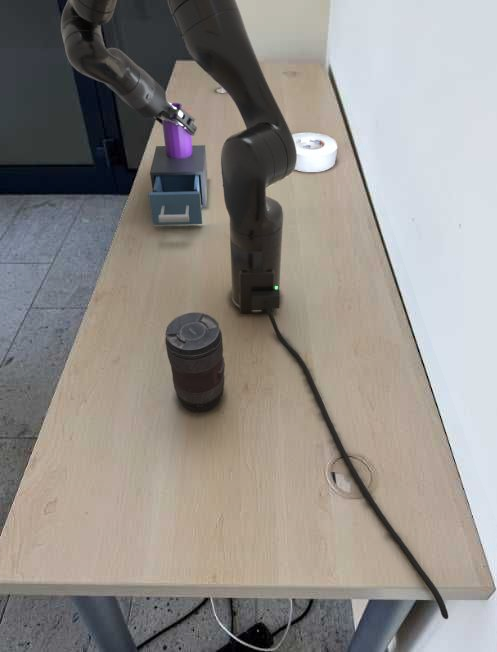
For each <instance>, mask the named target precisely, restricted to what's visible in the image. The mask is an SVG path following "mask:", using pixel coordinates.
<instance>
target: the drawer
mask: <svg viewBox="0 0 497 652" xmlns="http://www.w3.org/2000/svg"><path fill="white" fill-rule="evenodd" d="M148 199H149V206H150V212H151V217H152V224H153V226H173V225H178V226H179V225H203V208H201V185H200V175H157V176H156V180H155V184H154V189H153V190H152V191H151V192H148Z"/></svg>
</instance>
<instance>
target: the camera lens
mask: <svg viewBox="0 0 497 652" xmlns="http://www.w3.org/2000/svg"><path fill="white" fill-rule="evenodd" d="M164 341H165V342H164V344H165V348H166V355H167V358H168V361H169V364H170V368H171V369H170V370H171V374H172V384H173V388H174V392H175V394H176V397H177V399H178V401H179V402H180V404H181V405H182V407H183V408H184V409H185V410H187V411H188V412H191V413H195V414H204V413H207V412H210V411H212V410H214V409H215V408H216V407H217V406H218V405H219V403H220V402H221V399H222V397H223V393H224V389H225V388H224V387H225V369H226V368H225V367H226V363H225V358H224V346H223V344H224V343H223V333H222V330H221V328H220V324H219V321H217V320H216V319H215V318H214V317H213V316H211V315H210V314H207V313H204V312H186V313H184V314H181V315H179V316H176V317H175V318H173V320H171V321H170V322H169V323H168V325H167V326H166V329H165V338H164Z"/></svg>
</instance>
